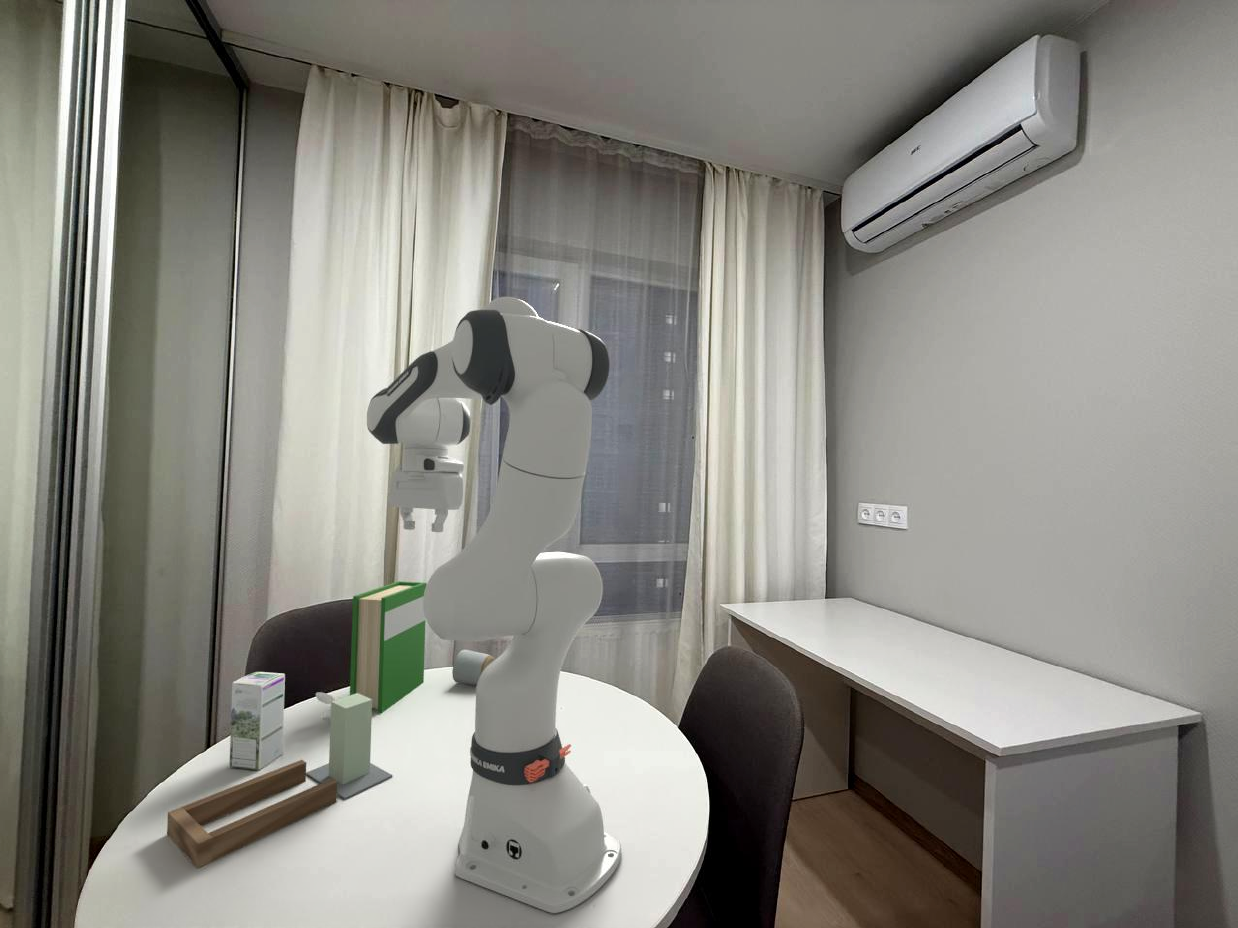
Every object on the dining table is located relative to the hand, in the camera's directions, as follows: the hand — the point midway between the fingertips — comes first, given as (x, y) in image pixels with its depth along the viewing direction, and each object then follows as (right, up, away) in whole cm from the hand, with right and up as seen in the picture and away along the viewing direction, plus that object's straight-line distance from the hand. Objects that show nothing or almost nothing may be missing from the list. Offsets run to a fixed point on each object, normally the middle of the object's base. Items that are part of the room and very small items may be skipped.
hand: (422, 530), depth 111 cm
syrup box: (-22, -38, -18) cm, 47 cm away
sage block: (-4, -38, -22) cm, 44 cm away
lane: (-12, -37, -33) cm, 51 cm away
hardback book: (-12, -39, +11) cm, 42 cm away
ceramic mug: (+6, -40, +21) cm, 45 cm away
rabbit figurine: (-18, -38, -1) cm, 43 cm away
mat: (-4, -38, -22) cm, 44 cm away
